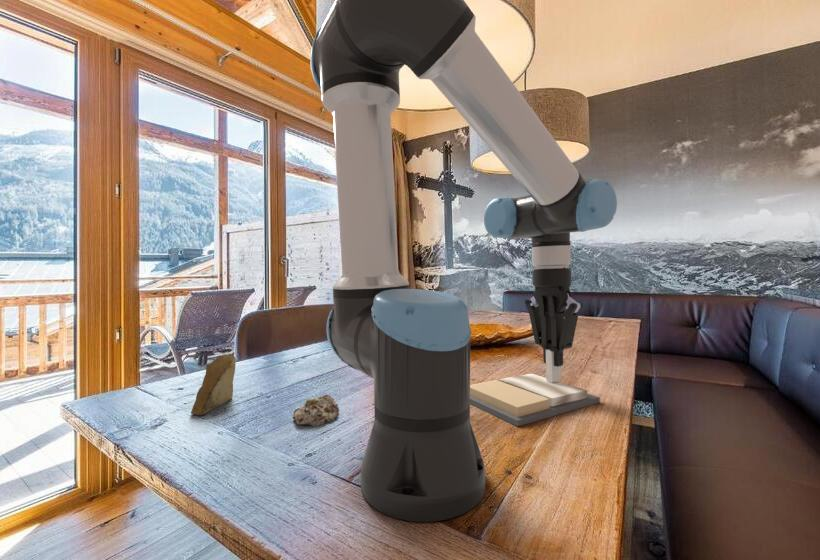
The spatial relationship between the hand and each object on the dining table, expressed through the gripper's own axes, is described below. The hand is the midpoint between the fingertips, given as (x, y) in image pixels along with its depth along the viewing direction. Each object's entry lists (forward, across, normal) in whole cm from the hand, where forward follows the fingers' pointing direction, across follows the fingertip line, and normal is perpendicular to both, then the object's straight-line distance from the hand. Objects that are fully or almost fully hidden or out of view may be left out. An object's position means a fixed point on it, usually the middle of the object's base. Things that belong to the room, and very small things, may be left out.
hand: (553, 380), depth 78 cm
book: (+2, 0, +4) cm, 4 cm away
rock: (+2, +30, +63) cm, 69 cm away
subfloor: (+3, 0, +8) cm, 8 cm away
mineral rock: (+2, +14, +46) cm, 48 cm away
